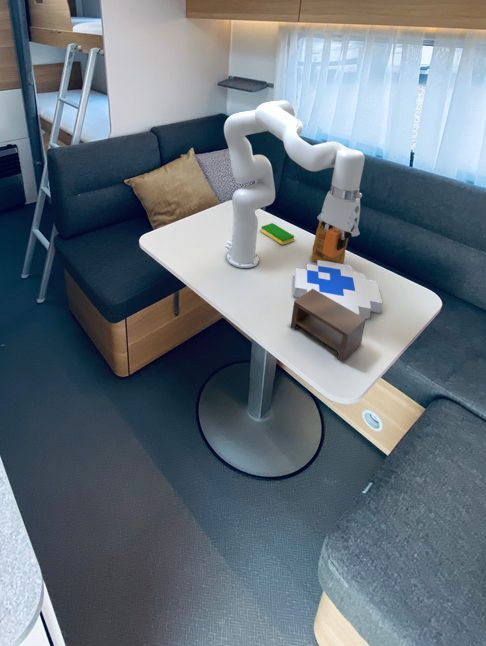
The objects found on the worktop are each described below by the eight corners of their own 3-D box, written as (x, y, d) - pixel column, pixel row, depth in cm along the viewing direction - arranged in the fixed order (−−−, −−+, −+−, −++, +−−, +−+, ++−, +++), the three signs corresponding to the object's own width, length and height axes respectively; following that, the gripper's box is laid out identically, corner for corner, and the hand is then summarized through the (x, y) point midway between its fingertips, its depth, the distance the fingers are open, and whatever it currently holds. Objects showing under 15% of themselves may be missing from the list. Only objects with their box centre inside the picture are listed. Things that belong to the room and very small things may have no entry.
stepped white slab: (294, 302, 135) (296, 256, 160) (293, 311, 136) (295, 265, 161) (386, 319, 128) (373, 269, 153) (384, 329, 129) (371, 277, 154)
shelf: (290, 326, 129) (294, 301, 126) (308, 313, 135) (312, 288, 132) (342, 362, 117) (348, 335, 113) (360, 345, 123) (366, 319, 119)
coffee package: (319, 250, 172) (326, 203, 164) (347, 263, 163) (356, 214, 156) (306, 259, 165) (314, 211, 157) (335, 273, 157) (345, 222, 149)
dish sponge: (282, 245, 175) (283, 240, 174) (260, 231, 186) (260, 226, 185) (294, 240, 178) (294, 236, 177) (271, 227, 189) (272, 222, 188)
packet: (322, 253, 126) (326, 230, 123) (333, 246, 129) (337, 224, 126) (332, 258, 123) (336, 235, 120) (343, 251, 127) (347, 229, 124)
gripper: (378, 198, 115) (365, 253, 122) (326, 179, 127) (317, 230, 133) (364, 205, 110) (352, 262, 117) (312, 184, 122) (303, 238, 129)
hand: (334, 245), depth 125 cm, fingers closed on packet, 3 cm apart
